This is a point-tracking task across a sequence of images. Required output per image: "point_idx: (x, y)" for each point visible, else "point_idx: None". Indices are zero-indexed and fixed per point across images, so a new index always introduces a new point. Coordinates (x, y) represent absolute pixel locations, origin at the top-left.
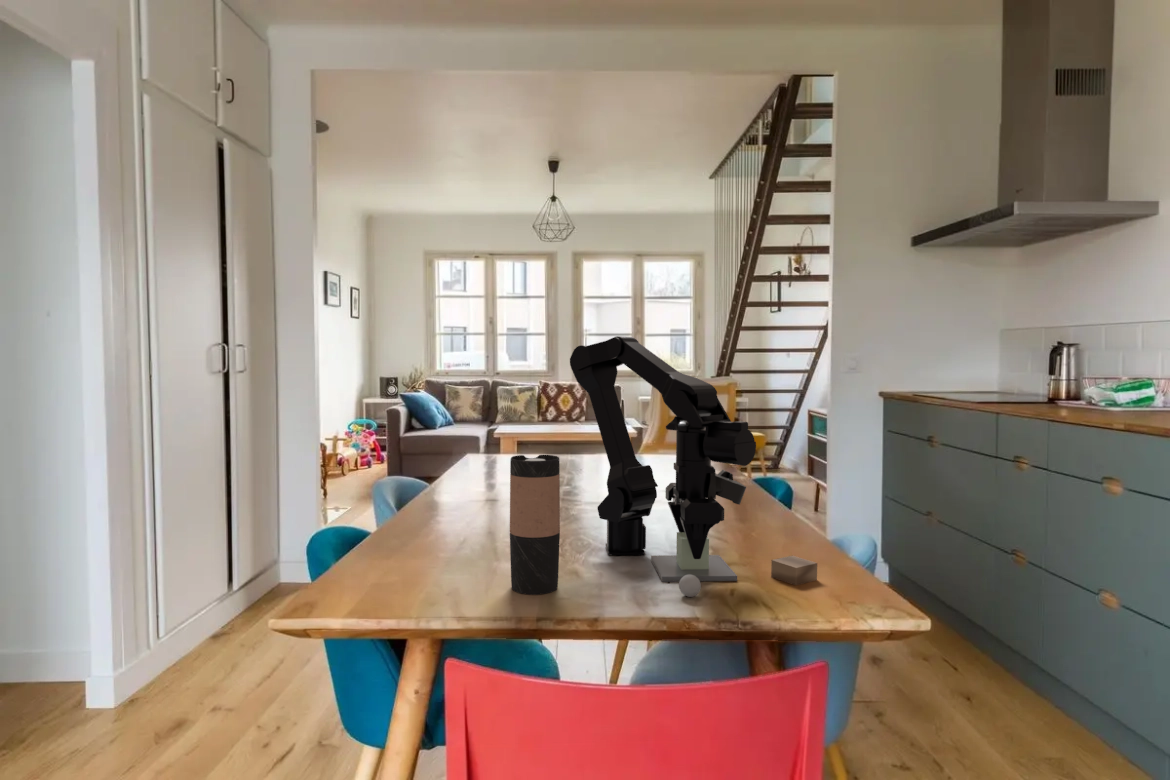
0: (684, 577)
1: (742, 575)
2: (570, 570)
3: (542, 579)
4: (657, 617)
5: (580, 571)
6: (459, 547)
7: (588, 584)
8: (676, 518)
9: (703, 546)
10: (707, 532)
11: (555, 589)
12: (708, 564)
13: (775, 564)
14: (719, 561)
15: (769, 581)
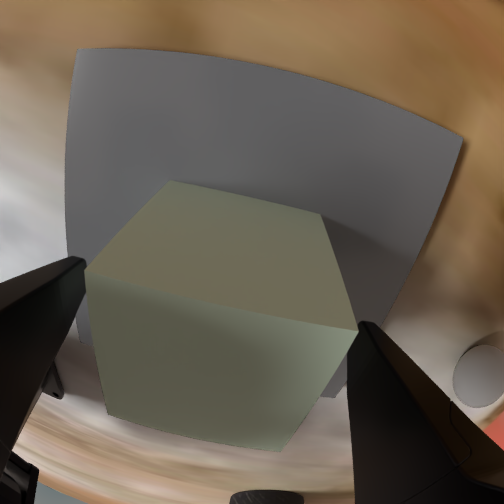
0: (483, 406)
1: (387, 53)
2: (180, 467)
3: None
4: (490, 414)
5: (189, 462)
6: (70, 479)
7: (280, 471)
8: (12, 437)
9: (420, 373)
10: (492, 447)
11: (291, 493)
12: (324, 226)
13: None
14: (193, 85)
15: (484, 13)
